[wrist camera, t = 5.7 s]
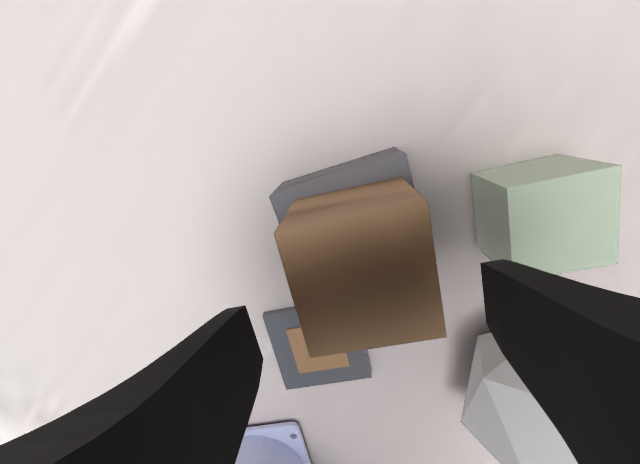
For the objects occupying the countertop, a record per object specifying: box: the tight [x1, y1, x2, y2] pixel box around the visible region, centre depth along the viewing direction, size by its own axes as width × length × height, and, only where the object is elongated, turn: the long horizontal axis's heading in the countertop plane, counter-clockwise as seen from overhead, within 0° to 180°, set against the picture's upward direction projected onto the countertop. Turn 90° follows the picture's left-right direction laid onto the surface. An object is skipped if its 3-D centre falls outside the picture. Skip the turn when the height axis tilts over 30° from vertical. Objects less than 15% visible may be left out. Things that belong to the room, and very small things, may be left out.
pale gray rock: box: [461, 332, 578, 464], centre depth 18 cm, size 8×9×10 cm
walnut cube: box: [274, 176, 447, 358], centre depth 14 cm, size 5×5×5 cm
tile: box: [263, 307, 372, 390], centre depth 23 cm, size 6×6×1 cm
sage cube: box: [470, 154, 621, 275], centre depth 17 cm, size 4×4×4 cm
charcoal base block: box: [269, 147, 414, 224], centre depth 18 cm, size 6×6×4 cm
